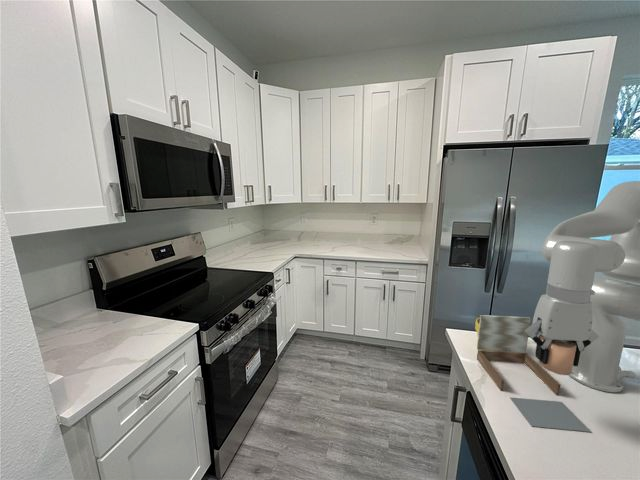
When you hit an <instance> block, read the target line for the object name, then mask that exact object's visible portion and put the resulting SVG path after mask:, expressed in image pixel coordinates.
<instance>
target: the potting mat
mask: <svg viewBox="0 0 640 480" xmlns="http://www.w3.org/2000/svg"><path fill="white" fill-rule="evenodd" d="M509 399H510V400H511V401H512V403H513V404H514V405H515V408H517V410H518V411H519V413H521V414H522V416H523V417H524V419H525V420H526V421H527V423H528V424H529V425H530V426H531V427H533V428H542V429H553V430H561V431H571V432H572V431H573V432H574V431H575V432H583V433H584V432H585V433H592V431H591V430H590V429H589V427H588V426H587V425H585V424H584V423H583V422H582V421H581V419H579V418H578V417H577V415H576V414H574V412H572V411H571V409H570V408H569V407H568V406H566V405H565V404H564V402H563V401H558V400H557V401H556V400H545V399H533V398H524V397H523V398H521V397H520V398H519V397H511V396H510V397H509Z"/></svg>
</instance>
